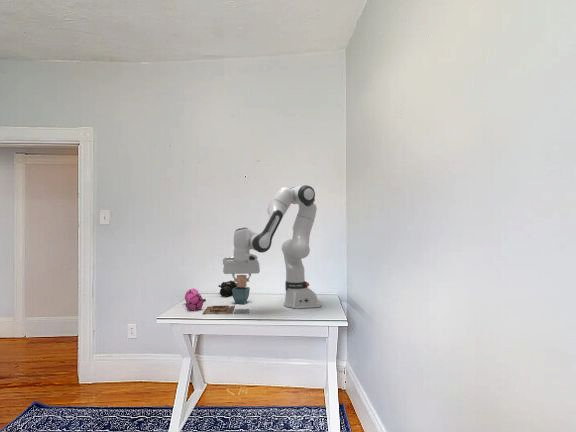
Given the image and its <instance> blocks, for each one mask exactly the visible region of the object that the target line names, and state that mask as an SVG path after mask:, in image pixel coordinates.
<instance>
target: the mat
mask: <svg viewBox="0 0 576 432" xmlns="http://www.w3.org/2000/svg"><path fill="white" fill-rule="evenodd" d="M249 312H250V308H234V310H233V314H234V315H235V314H249Z"/></svg>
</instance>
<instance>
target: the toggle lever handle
mask: <svg viewBox="0 0 576 432" xmlns="http://www.w3.org/2000/svg"><path fill="white" fill-rule="evenodd" d="M247 275H248V274H236V278H237V282H236V283H237V287H248V285H247V283H248V282H247V280H246V279H247V278H248V277H247Z"/></svg>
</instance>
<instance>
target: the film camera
mask: <svg viewBox="0 0 576 432" xmlns="http://www.w3.org/2000/svg"><path fill="white" fill-rule="evenodd" d="M217 287H218V288H220V290H219V295H220V296H221V297H222V298H226V297H233V293H232V289H234V288H235V287H237V282H234V280H229V281H222V283H221V284H218V286H217Z"/></svg>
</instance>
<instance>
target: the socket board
mask: <svg viewBox="0 0 576 432" xmlns="http://www.w3.org/2000/svg"><path fill="white" fill-rule="evenodd" d="M235 307H236V306H235V305H228V304H227V305H211V306H209V305H208V306H207V307H206V308H205V309H204V311H203V312H202V315H232V314H234V311H235Z"/></svg>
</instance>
